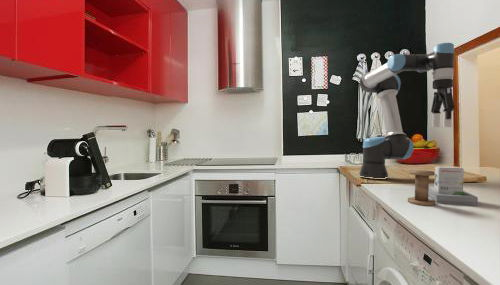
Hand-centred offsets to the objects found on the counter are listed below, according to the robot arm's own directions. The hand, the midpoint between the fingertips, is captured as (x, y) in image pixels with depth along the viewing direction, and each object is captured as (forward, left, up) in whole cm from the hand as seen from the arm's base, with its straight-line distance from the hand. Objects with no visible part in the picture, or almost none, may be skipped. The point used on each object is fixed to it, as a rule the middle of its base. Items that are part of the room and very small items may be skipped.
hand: (441, 127), depth 124 cm
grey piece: (+17, -2, -29) cm, 33 cm away
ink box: (+16, -2, -28) cm, 32 cm away
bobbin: (+25, -14, -29) cm, 41 cm away
